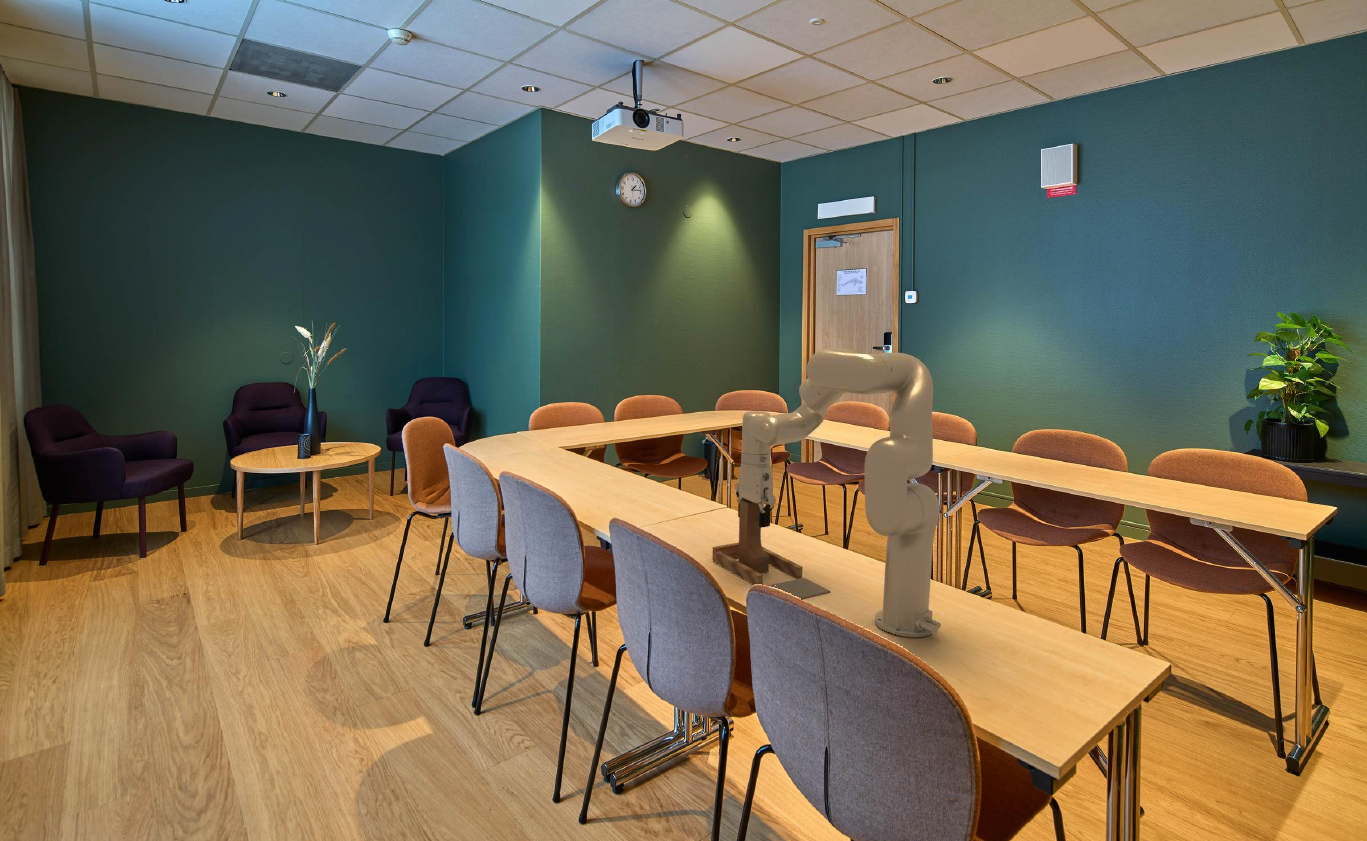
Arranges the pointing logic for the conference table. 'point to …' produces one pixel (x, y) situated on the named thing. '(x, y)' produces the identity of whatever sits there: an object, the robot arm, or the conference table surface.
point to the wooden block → (751, 538)
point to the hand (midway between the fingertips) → (753, 521)
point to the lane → (727, 557)
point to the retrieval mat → (801, 588)
